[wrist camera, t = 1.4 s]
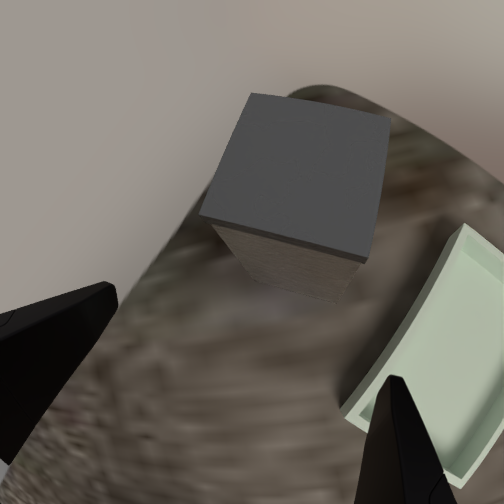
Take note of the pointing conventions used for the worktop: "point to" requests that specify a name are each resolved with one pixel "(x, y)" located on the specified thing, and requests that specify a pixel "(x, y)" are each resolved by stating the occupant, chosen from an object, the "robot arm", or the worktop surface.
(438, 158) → the worktop surface
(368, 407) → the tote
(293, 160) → the tin
